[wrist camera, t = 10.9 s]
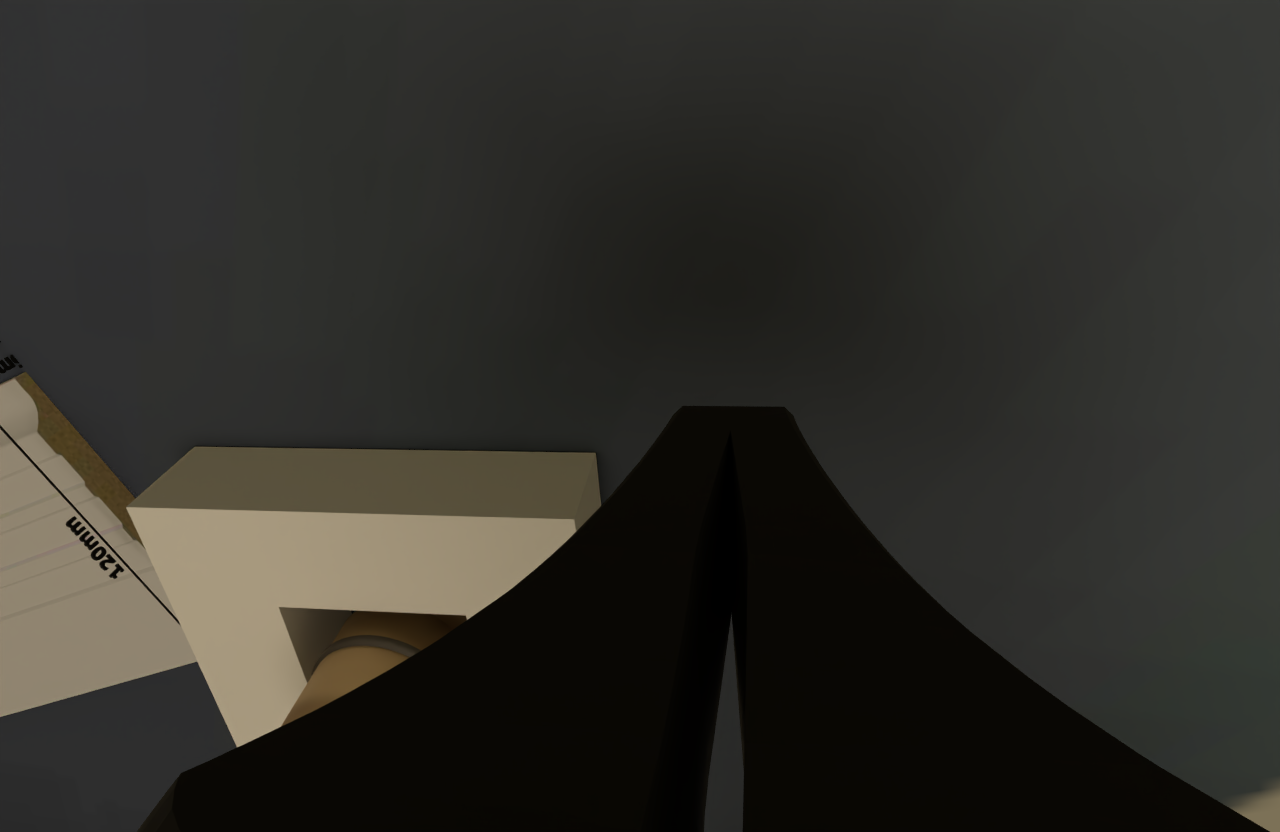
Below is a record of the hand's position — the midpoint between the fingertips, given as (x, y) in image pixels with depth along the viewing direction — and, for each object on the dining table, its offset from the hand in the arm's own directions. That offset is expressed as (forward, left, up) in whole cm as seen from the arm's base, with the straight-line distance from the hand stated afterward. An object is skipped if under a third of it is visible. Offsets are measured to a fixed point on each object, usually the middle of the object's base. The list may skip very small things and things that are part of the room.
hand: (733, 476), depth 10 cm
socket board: (-12, +10, -10) cm, 18 cm away
